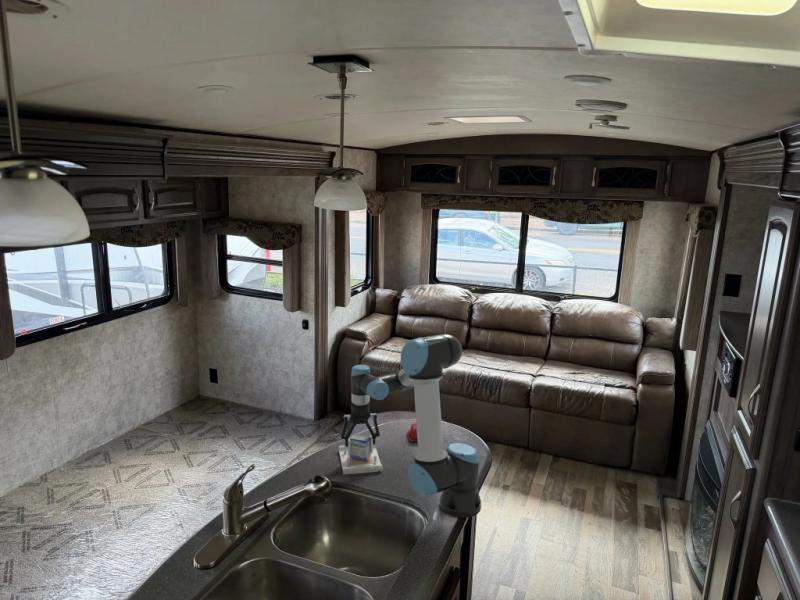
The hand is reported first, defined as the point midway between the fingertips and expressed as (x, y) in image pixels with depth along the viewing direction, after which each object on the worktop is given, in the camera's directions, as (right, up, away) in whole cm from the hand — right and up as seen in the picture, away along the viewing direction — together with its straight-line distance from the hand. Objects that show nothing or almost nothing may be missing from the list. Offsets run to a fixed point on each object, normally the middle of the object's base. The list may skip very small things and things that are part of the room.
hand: (360, 452), depth 233 cm
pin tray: (0, -4, +1) cm, 4 cm away
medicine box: (0, -2, 0) cm, 2 cm away
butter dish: (+26, 0, +24) cm, 35 cm away
